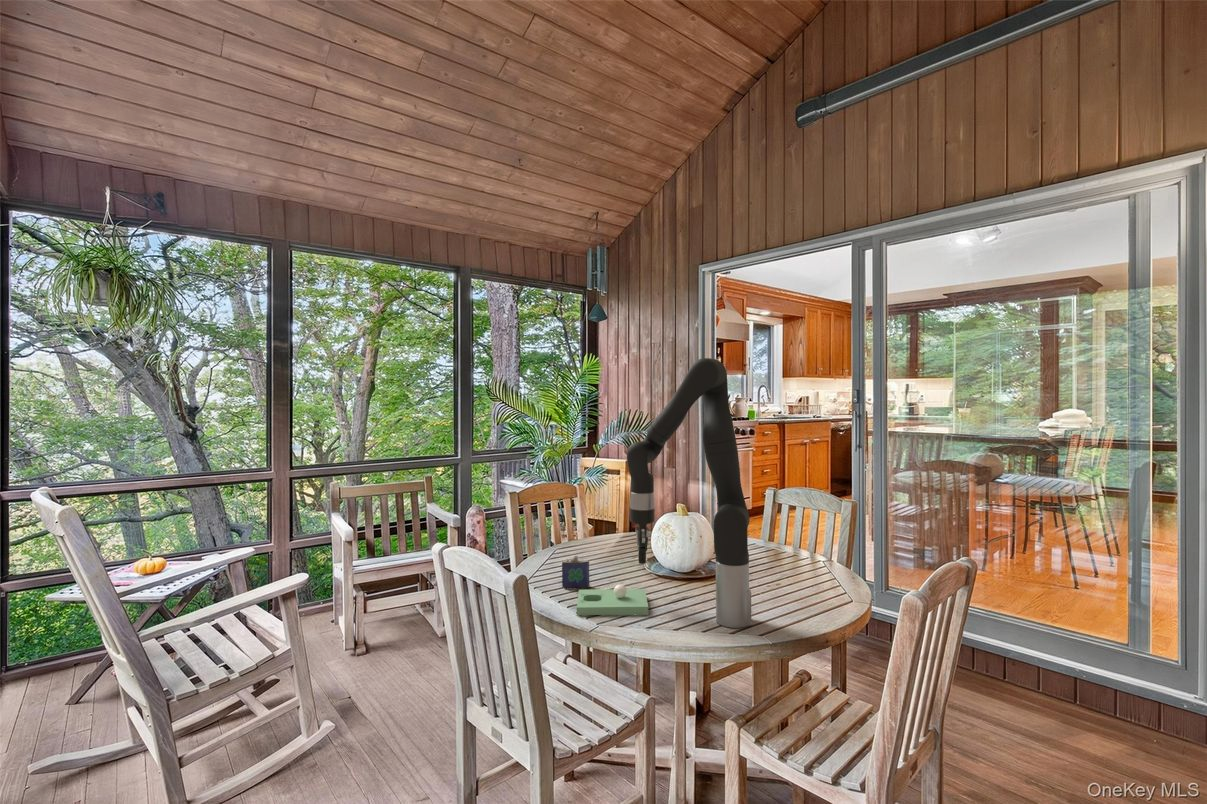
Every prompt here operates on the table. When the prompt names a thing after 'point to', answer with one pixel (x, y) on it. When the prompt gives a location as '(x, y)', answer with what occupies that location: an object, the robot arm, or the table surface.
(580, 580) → the flask
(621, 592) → the ball
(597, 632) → the table surface
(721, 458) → the robot arm
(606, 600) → the board
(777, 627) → the table surface
